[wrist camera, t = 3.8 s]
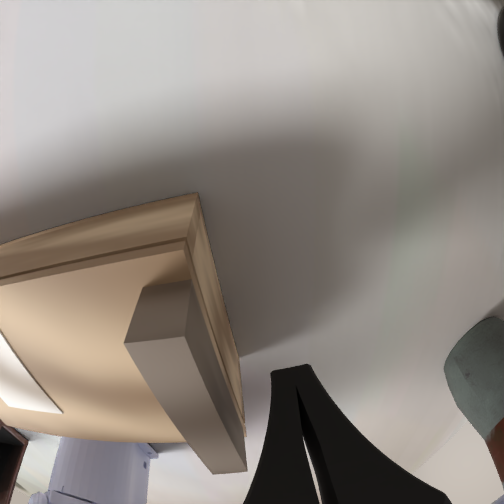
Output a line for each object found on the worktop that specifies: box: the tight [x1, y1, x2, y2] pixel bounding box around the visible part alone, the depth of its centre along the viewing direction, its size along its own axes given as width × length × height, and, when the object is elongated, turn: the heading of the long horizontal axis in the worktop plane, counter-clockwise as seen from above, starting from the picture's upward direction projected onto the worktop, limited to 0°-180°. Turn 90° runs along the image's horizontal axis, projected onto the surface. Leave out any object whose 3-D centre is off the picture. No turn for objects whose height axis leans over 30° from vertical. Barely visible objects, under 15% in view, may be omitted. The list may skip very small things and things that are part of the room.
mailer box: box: [0, 192, 245, 423], centre depth 14 cm, size 11×18×5 cm, turn 99°
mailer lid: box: [0, 241, 247, 474], centre depth 10 cm, size 11×18×3 cm, turn 99°
